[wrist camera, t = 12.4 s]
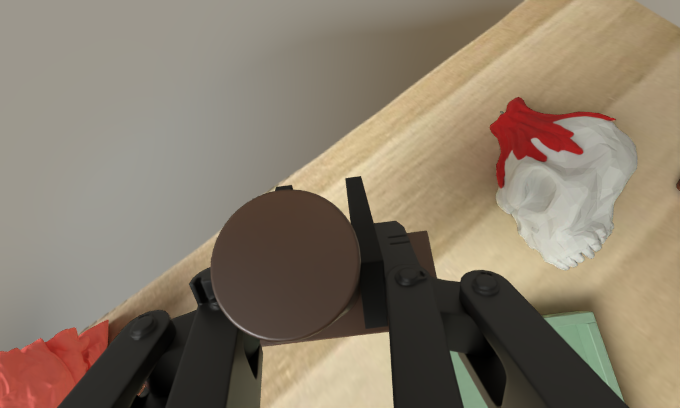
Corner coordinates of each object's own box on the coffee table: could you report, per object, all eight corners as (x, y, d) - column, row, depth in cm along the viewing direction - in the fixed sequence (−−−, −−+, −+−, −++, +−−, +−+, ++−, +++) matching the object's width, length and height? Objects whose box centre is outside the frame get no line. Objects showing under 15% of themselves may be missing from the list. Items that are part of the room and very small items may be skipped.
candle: (537, 282, 28) (438, 160, 34) (636, 223, 29) (523, 115, 35) (602, 258, 20) (457, 103, 26) (737, 176, 21) (567, 46, 27)
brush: (253, 264, 19) (23, 178, 6) (413, 244, 19) (539, 111, 6) (255, 341, 18) (-37, 446, 5) (428, 320, 18) (633, 369, 5)
